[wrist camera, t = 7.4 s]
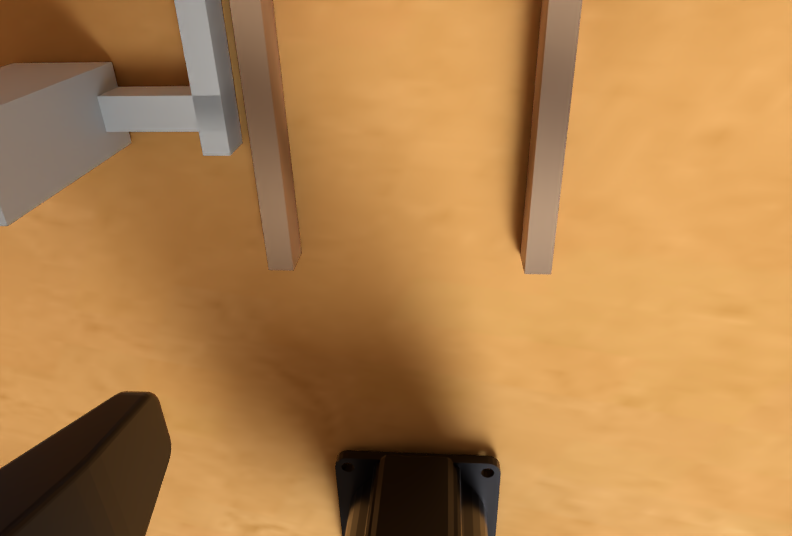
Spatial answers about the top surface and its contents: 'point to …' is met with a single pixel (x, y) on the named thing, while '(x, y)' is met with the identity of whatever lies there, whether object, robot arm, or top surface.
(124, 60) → the top surface
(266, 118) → the lane frame
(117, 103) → the grey sliding frame
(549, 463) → the top surface
